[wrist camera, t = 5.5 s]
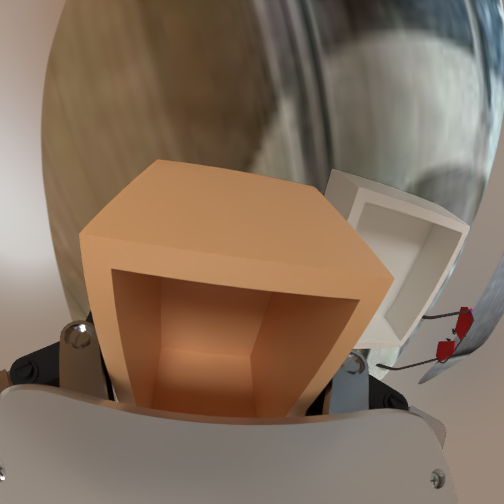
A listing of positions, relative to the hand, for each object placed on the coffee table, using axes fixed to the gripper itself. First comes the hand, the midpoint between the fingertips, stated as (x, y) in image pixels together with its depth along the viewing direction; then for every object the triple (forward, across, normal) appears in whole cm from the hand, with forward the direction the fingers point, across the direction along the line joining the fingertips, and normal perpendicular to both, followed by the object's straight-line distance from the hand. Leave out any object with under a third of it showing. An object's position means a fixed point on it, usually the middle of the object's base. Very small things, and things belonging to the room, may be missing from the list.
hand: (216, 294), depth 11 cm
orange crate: (+1, 0, 0) cm, 1 cm away
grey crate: (+15, -18, +5) cm, 24 cm away
